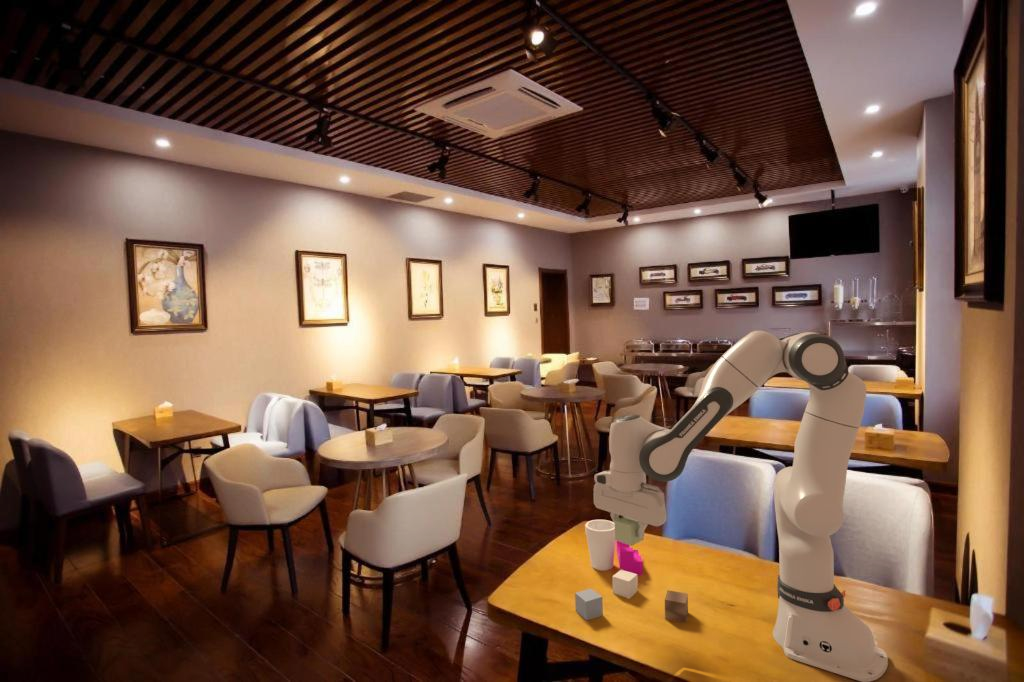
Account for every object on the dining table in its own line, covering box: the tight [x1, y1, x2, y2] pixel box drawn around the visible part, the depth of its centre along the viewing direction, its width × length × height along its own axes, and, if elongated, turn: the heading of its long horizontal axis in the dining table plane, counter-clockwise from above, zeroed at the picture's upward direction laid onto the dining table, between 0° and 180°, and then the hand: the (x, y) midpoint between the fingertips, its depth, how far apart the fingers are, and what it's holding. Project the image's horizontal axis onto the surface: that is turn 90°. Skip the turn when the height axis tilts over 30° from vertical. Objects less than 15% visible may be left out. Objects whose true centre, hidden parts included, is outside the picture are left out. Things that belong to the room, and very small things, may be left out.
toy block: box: [615, 541, 644, 576], centre depth 166 cm, size 15×6×8 cm, turn 174°
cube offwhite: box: [611, 569, 639, 600], centre depth 149 cm, size 5×5×5 cm
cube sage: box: [615, 516, 645, 547], centre depth 137 cm, size 5×5×5 cm
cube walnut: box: [664, 590, 689, 624], centre depth 137 cm, size 5×5×5 cm
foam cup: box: [584, 519, 616, 572], centre depth 164 cm, size 10×9×13 cm
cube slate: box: [574, 588, 604, 621], centre depth 139 cm, size 5×5×5 cm
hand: (629, 533), depth 137 cm, fingers closed on cube sage, 5 cm apart
